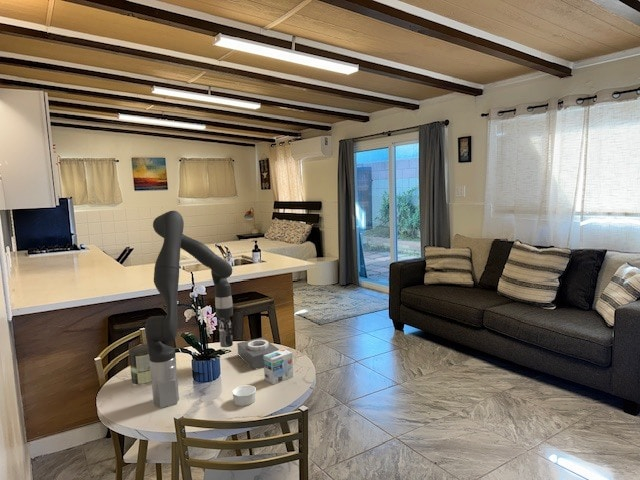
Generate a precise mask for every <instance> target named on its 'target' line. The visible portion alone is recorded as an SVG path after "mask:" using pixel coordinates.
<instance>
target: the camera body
mask: <svg viewBox="0 0 640 480" xmlns="http://www.w3.org/2000/svg"><path fill="white" fill-rule="evenodd" d="M236 345H237V355H238V354H239V355H240V356H241V357H242V358H243V359H244V360H245V361H246V362H247V363H248V364H249V365H250V366H251V368H252V369H253V370H254V369H255V370H257V369H256V368H259V369H261V368H260V367H262V368H264V356H263V355H266V354H269V353H272V352H275V351H278V350H280V349H279V348H278V347H277V346H275V345H274V344H272V343H271V342H270V341H268V340H267V339H265V338H264V337H258V338H254V339H249V340H246V341H240V342H237V343H236ZM240 356H239V357H240ZM241 357H240V358H241ZM242 358H241V359H242ZM243 359H242V360H243ZM244 360H243V361H244ZM245 361H244V362H245ZM246 362H245V363H246ZM247 363H246V364H247ZM248 364H247V365H248ZM249 365H248V366H249ZM250 366H249V367H250Z"/></svg>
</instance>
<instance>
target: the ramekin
mask: <svg viewBox="0 0 640 480" xmlns="http://www.w3.org/2000/svg"><path fill="white" fill-rule="evenodd" d="M256 392H257V389H256V386H253V385H251V384H250V385H249V384H245V385H243V384H242V385H239V386H237V387H236V386H235V388H234V389H233V390H232V391H231V393H232V398H233V403H234V404H235V405H236V406H238V407H246V406H249V405H252V404H254V402H255V401H256V394H257V393H256Z"/></svg>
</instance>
